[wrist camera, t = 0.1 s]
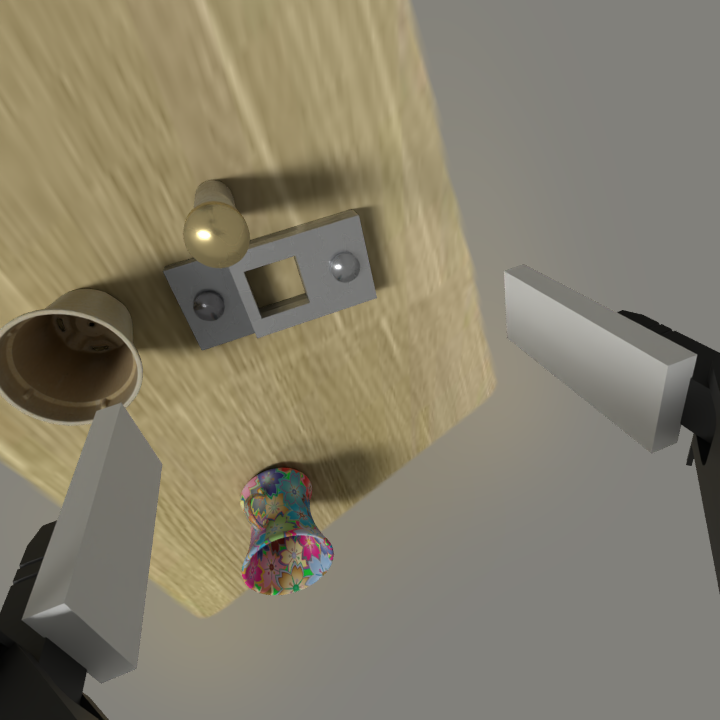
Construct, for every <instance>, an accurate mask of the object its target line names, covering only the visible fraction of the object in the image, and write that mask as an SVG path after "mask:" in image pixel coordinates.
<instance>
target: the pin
mask: <svg viewBox="0 0 720 720" xmlns="http://www.w3.org/2000/svg"><path fill="white" fill-rule="evenodd" d="M183 236H184V242H185V245H186V248H187V249H188V251H189V253H190V254H191V255H192V256H193V257H194V258H195V259H196V260H197V261H198V262H200V263H202V264H203V265H206V266H208V267H212V268H226V267H230V266H232V265H234V264H236V263H238V262H239V261H240V260H241V259H242V258H243V257H244V256H245V254H246V253H247V250H248V248H249V244H250V234H249V230H248V226H247V223H246V221H245V219H244V218H243V216H242V215H241V213H240V212H239V211H238V210H236V206H235V202H234V199H233V195H232V192H231V191H230V189H229V188H228V187H227V186H226V185H225V184H224V183H222V182H220V181H217V180H208V181H205V182H203V183H202V184H200V185H199V187H198V188H197V190H196V193H195V201H194V209H193V210H192V211H191V212H190V213H189V214H188V216H187V218H186V221H185V225H184V232H183Z"/></svg>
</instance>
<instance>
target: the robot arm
mask: <svg viewBox="0 0 720 720" xmlns="http://www.w3.org/2000/svg"><path fill="white" fill-rule="evenodd" d="M504 281H505V301H506V323H507V338H508V339H509V340H510V341H512V342H513V343H514V344H515V345H516V346H518V347H519V348H520V349H521V350H523V351H524V352H525V353H526V354H528V355H529V356H530V357H531V358H533V359H534V360H535V361H536V362H538V363H539V364H540V365H541V366H543V367H544V368H545V369H546V370H548V371H549V372H550V373H551V374H553V375H554V376H555V377H556V378H558V379H559V380H560V381H561V382H563V383H564V384H565V385H566V386H568V387H569V388H570V389H572V390H573V391H574V392H575V393H576V394H578V395H579V396H580V397H581V398H583V399H584V400H585V401H587V402H588V403H589V404H590V405H592V406H593V407H594V408H595V409H597V410H598V411H599V412H600V413H602V414H603V415H604V416H605V417H607V418H608V419H609V420H610V421H612V422H613V423H614V424H615V425H617V426H618V427H619V428H620V429H622V430H623V431H624V432H625V433H627V434H628V435H629V436H630V437H632V438H633V439H634V440H636V441H637V442H638V443H639V444H641V445H642V446H643V447H644V448H645V449H647V450H648V451H649V452H650V453H653V452H656V451H658V450H661V449H663V448H665V447H668V446H670V445H673V444H675V443H677V441H678V436H679V432H680V427H681V425H683V426H684V427H686V428H687V429H689V430H690V431H692V432H693V433H694V434H693V438H692V442H691V446H690V450H689V454H688V458H687V464H686V465H689V466H692V462H693V459H695V465H696V470H697V475H698V480H699V485H700V491H701V496H702V501H703V507H704V512H705V518H706V523H707V528H708V533H709V539H710V544H711V550H712V555H713V560H714V565H715V571H716V575H717V581H718V587H719V592H720V353H719V352H717V351H715V350H713V349H711V348H709V347H707V346H705V345H703V344H701V343H699V342H697V341H695V340H693V339H691V338H689V337H687V336H685V335H683V334H680V333H678V332H676V331H672V329H670V328H668V327H666V326H664V325H662V324H661V325H659V323H658V322H656V321H654V320H652V319H650V318H648V317H646V316H644V315H642V314H637V313H633V312H628V311H624V310H622V311H619V312H614V311H613V310H611V309H609V308H607V307H605V306H603V305H601V304H599V303H598V302H596V301H594V300H592V299H590V298H588V297H586V296H584V295H582V294H580V293H578V292H576V291H574V290H573V289H571V288H569V287H567V286H565V285H563V284H561V283H559V282H557V281H555V280H553V279H551V278H550V277H548V276H546V275H544V274H542V273H540V272H538V271H536V270H534V269H532V268H530V267H528V266H527V265H524V264H523V265H520V266H517V267H514V268H511V269H508V270H505V271H504ZM161 470H162V463H161V461H160V460H159V458H158V457H157V455H156V454H155V452H154V451H153V449H152V448H151V446H150V445H149V443H148V442H147V440H146V439H145V437H144V436H143V434H142V433H141V431H140V430H139V428H138V427H137V425H136V424H135V422H134V421H133V419H132V418H131V416H130V415H129V413H128V412H127V410H126V409H125V407H124V406H123V404H122V403H119V404H116V405H113V406H110V407H107V408H104V409H101V410H98V411H96V413H95V416H94V419H93V422H92V425H91V427H90V430H89V433H88V436H87V439H86V441H85V444H84V447H83V450H82V453H81V455H80V458H79V461H78V464H77V466H76V469H75V472H74V475H73V478H72V480H71V483H70V486H69V489H68V492H67V494H66V497H65V500H64V503H63V506H62V508H61V511H60V514H59V517H58V520H57V521H54V522H52V523H49V524H46V525H43V526H42V527H41V529H40V530H39V531H38V532H37V534H36V535H35V536H34V538H33V539H32V540H31V542H30V543H29V544H28V546H27V548H26V550H25V553H24V555H23V558H22V560H21V563H20V569H18V570H17V573H16V575H15V578H14V580H13V585H12V586H11V587H10V590H9V593H8V595H7V597H6V600H5V602H4V605H3V607H2V610H1V612H0V720H109V719H108V718H107V717H106V716H105V715H104V714H103V712H102V711H101V710H100V709H99V708H98V707H97V705H96V704H95V703H94V702H93V701H92V700H91V699H90V697H88V696H87V695H85V694H84V693H83V692H82V691H83V687H84V681H85V677H86V672H87V673H89V674H90V675H91V676H92V677H94V678H95V679H96V680H97V681H99V682H100V683H104V682H106V681H108V680H111V679H113V678H116V677H118V676H120V675H123V674H125V673H128V672H130V671H132V670H135V669H136V668H137V661H138V653H139V646H140V638H141V630H142V622H143V614H144V606H145V598H146V590H147V582H148V574H149V566H150V558H151V550H152V542H153V534H154V526H155V518H156V510H157V502H158V494H159V486H160V478H161Z"/></svg>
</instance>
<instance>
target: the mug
mask: <svg viewBox="0 0 720 720" xmlns="http://www.w3.org/2000/svg"><path fill="white" fill-rule="evenodd" d="M311 496H312V485H311V482H310V480H309V479H308V478H307V476H306V475H304V474H303V473H302V472H300V471H298V470H295V469H291V468H274V469H270V470H267V471H264V472H262V473H260V474H258V475H256V476H255V477H253V478H252V479H251V480H250V481H249V482H248V483H247V484H246V485H245V487H244V489H243V491H242V493H241V497H240V503H241V507H242V509H243V511H244V512H245V515H246V517H247V519H248V521H249V523H250V524H251V541H250V546H249V550H248V553H247V556H246V558H245V560H244V563H243V566H242V577H243V580H244V582H245V583H246V585H247V586H248V587H249V588H251V589H252V590H254V591H256V592H258V593H262V594H266V595H284V594H289V593H293V592H297V591H299V590H302V589H304V588H306V587H308V586H310V585H312V584H313V583H315V582H316V581H318V580H319V579H320V578H321V577H322V576H323V575H324V574H325V573H326V572H327V571H328V569H329V568H330V566H331V564H332V561H333V555H334V553H333V548H332V545H331V543H330V542H329V541H328V539H327V538H325V537H324V536H323V534H322V533H321V532H320V531H319V529H318V528H317V526H316V525H315V523H314V521H313V518H312V516H311V512H310V499H311Z"/></svg>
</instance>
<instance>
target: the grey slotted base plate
mask: <svg viewBox="0 0 720 720" xmlns="http://www.w3.org/2000/svg"><path fill="white" fill-rule="evenodd" d="M292 256H294V259H295V262H296V265H297V268H298V271H299V275H300V278H301V281H302V284H303V287H304V290H305V294H301V295H298V296H295V297H292V298H289V299H286V300H283V301H280V302H277V303H274V304H271V305H268V306H265V307H262V308H259V307H258V304H257V302H256V299H255V297H254V294H253V291H252V289H251V286H250V284H249V281H248V278H247V276H246V273H245V271H248V270H251V269H254V268H258V267H261V266H264V265H267V264H270V263H273V262H277V261H280V260H283V259H286V258H289V257H292ZM163 273H164V275H165V277H166V279H167V281H168V283H169V285H170V287H171V289H172V291H173V293H174V295H175V297H176V299H177V301H178V303H179V305H180V307H181V309H182V311H183V313H184V315H185V317H186V319H187V321H188V323H189V325H190V327H191V329H192V331H193V334H194V336H195V338H196V340H197V342H198V344H199V346H200V348H201V350H205V349H208V348H211V347H214V346H217V345H220V344H223V343H226V342H229V341H232V340H235V339H238V338H241V337H244V336H247V335H250V334H253V333H255V334H256V336H257V338H259V337H262V336H265V335H268V334H271V333H274V332H277V331H280V330H283V329H286V328H289V327H292V326H295V325H298V324H301V323H304V322H307V321H310V320H313V319H316V318H319V317H322V316H325V315H328V314H331V313H334V312H337V311H340V310H343V309H346V308H349V307H351V306H354V305H357V304H360V303H363V302H366V301H369V300H372V299H375V298H377V296H376V291H375V287H374V282H373V278H372V273H371V268H370V264H369V259H368V255H367V250H366V245H365V241H364V236H363V232H362V227H361V222H360V218H359V215H358V214H357V213H356V212H354V211H353V210H352V209H350V210H347V211H344V212H341V213H337V214H334V215H331V216H328V217H324V218H321V219H318V220H315V221H311V222H308V223H305V224H302V225H298V226H295V227H292V228H289V229H285V230H282V231H279V232H276V233H272V234H269V235H266V236H263V237H259V238H256V239H253V240H250V244H249V248H248V250H247V253H246V254H245V256H244V257H243V258H242V259H241V260H240V261H239V262H238V263H236V264H234V265H232V266H230V267H226V268H212V267H208V266H206V265H203V264H202V263H200V262H198V261H197V260H196V259H195V258H191V259H188V260H185V261H181V262H178V263H175V264H172V265H168V266H165V267H164V269H163Z"/></svg>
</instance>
